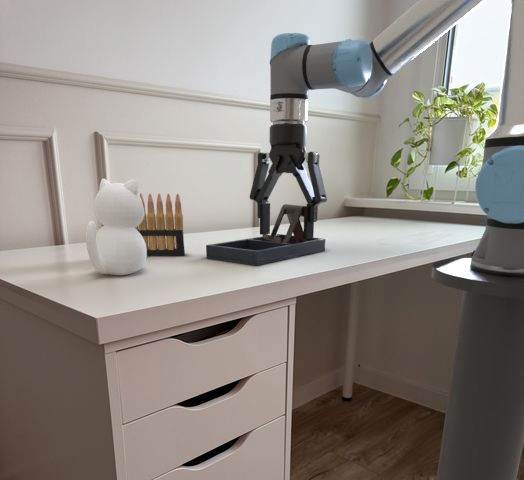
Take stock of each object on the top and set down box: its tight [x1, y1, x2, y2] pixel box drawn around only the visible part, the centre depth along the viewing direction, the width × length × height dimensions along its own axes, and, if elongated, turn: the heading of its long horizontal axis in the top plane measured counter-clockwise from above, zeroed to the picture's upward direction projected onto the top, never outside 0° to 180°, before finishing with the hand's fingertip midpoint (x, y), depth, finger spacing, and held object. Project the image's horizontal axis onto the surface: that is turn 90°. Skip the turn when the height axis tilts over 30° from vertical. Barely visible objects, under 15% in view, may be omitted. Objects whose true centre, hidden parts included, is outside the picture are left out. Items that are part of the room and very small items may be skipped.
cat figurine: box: [85, 178, 148, 276], centre depth 84 cm, size 9×12×15 cm
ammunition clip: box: [135, 193, 186, 257], centre depth 102 cm, size 11×2×12 cm, turn 98°
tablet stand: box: [261, 203, 307, 244], centre depth 110 cm, size 9×8×8 cm
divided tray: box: [205, 233, 326, 267], centre depth 107 cm, size 13×24×3 cm, turn 143°
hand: (285, 236), depth 111 cm, fingers closed on tablet stand, 11 cm apart
